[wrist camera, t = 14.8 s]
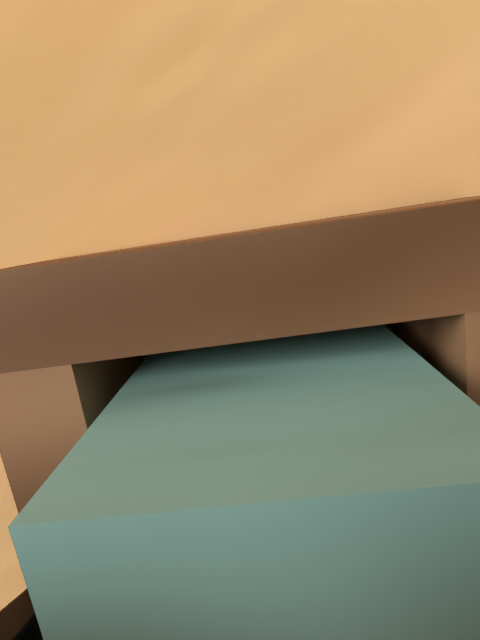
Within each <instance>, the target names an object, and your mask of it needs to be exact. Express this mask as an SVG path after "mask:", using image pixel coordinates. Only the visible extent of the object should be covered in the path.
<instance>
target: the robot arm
mask: <svg viewBox="0 0 480 640" xmlns="http://www.w3.org/2000/svg"><path fill="white" fill-rule="evenodd" d="M0 640H43V637H42V633H41V630H40V627H39V624H38V621H37V618H36V614H35V611H34V608H33V605H32V602H31V598H30V595H29V592H28V589H26V590H25V591H24V592H22V593H21V594H20V595H19V596H18V597H16V598H15V599H14V600H13V601H12V602H11V603H9V604H8V605H7V606H6V607H5V608H3V609H2V610H1V611H0Z"/></svg>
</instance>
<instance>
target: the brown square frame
mask: <svg viewBox="0 0 480 640" xmlns="http://www.w3.org/2000/svg"><path fill="white" fill-rule="evenodd" d="M398 322H399V335H400V339H401V340H402V341H403V342H404V343H406V344H407V345H408V346H409V347H410V348H411V349H413V350H414V351H415V352H416V353H417V354H418V355H420V356H421V357H422V358H423V359H424V360H426V361H427V362H428V363H429V364H430V365H431V366H433V367H434V368H435V369H436V370H437V371H439V372H440V373H441V374H442V375H443V376H444V377H446V378H447V379H448V380H449V381H450V382H451V383H453V384H454V385H455V386H456V387H457V388H459V389H460V390H461V391H462V392H463V393H464V394H466V395H467V396H468V397H469V398H470V399H472V400H473V401H474V402H475V403H476V404H477V405H479V406H480V196H475V197H467V198H460V199H454V200H447V201H440V202H434V203H427V204H420V205H414V206H407V207H400V208H394V209H387V210H380V211H374V212H367V213H360V214H354V215H347V216H340V217H334V218H327V219H320V220H314V221H307V222H300V223H294V224H287V225H280V226H274V227H267V228H260V229H253V230H247V231H240V232H233V233H227V234H220V235H213V236H207V237H200V238H193V239H187V240H180V241H173V242H167V243H160V244H153V245H147V246H140V247H133V248H127V249H120V250H113V251H107V252H100V253H93V254H87V255H80V256H73V257H67V258H60V259H53V260H47V261H42V262H37V263H31V264H26V265H21V266H15V267H10V268H5V269H0V454H1V457H2V461H3V464H4V467H5V470H6V474H7V477H8V480H9V483H10V487H11V490H12V493H13V496H14V500H15V503H16V506H17V509H18V513H20V512H21V510H22V509H23V508H24V507H25V506H26V504H27V503H28V502H29V501H30V499H31V498H32V497H33V496H34V495H35V493H36V492H37V491H38V490H39V488H40V487H41V486H42V485H43V483H44V482H45V481H46V480H47V479H48V477H49V476H50V475H51V474H52V472H53V471H54V470H55V469H56V468H57V466H58V465H59V464H60V463H61V461H62V460H63V459H64V458H65V457H66V455H67V454H68V453H69V452H70V450H71V449H72V448H73V447H74V445H75V444H76V443H77V442H78V441H79V439H80V438H81V437H82V436H83V434H84V433H85V432H86V431H87V430H88V428H89V427H90V426H91V425H92V423H93V422H94V421H95V420H96V418H97V417H98V416H99V415H100V414H101V412H102V411H103V410H104V409H105V407H106V406H107V405H108V404H109V403H110V401H111V400H112V399H113V398H114V396H115V395H116V394H117V393H118V392H119V390H120V389H121V388H122V387H123V385H124V384H125V383H126V382H127V380H128V379H129V378H130V377H131V376H132V374H133V373H134V372H135V371H136V369H137V368H138V367H139V366H140V365H141V362H140V357H139V356H141V355H149V354H157V353H165V352H172V351H180V350H188V349H196V348H204V347H211V346H219V345H227V344H235V343H242V342H250V341H258V340H266V339H273V338H281V337H289V336H297V335H305V334H312V333H320V332H328V331H336V330H343V329H351V328H359V327H367V326H374V325H382V324H390V323H398Z"/></svg>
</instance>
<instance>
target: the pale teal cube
mask: <svg viewBox="0 0 480 640" xmlns="http://www.w3.org/2000/svg"><path fill="white" fill-rule="evenodd" d="M8 528H9V531H10V534H11V538H12V541H13V544H14V547H15V550H16V554H17V557H18V560H19V563H20V566H21V570H22V573H23V576H24V579H25V582H26V586H27V589H28V592H29V595H30V598H31V602H32V605H33V608H34V611H35V614H36V618H37V621H38V624H39V627H40V630H41V633H42V637H43V640H480V406H479V405H477V404H476V403H475V402H474V401H473V400H472V399H470V398H469V397H468V396H467V395H466V394H464V393H463V392H462V391H461V390H460V389H459V388H457V387H456V386H455V385H454V384H453V383H451V382H450V381H449V380H448V379H447V378H446V377H444V376H443V375H442V374H441V373H440V372H439V371H437V370H436V369H435V368H434V367H433V366H431V365H430V364H429V363H428V362H427V361H426V360H424V359H423V358H422V357H421V356H420V355H418V354H417V353H416V352H415V351H414V350H413V349H411V348H410V347H409V346H408V345H407V344H406V343H404V342H403V341H402V340H401V339H400V338H398V337H397V336H396V335H395V334H394V333H393V332H391V331H390V330H389V329H388V328H387V327H386V326H384V325H383V324H382V325H374V326H367V327H359V328H351V329H343V330H336V331H328V332H320V333H312V334H305V335H297V336H289V337H281V338H273V339H266V340H258V341H250V342H242V343H235V344H227V345H219V346H211V347H204V348H196V349H188V350H180V351H172V352H165V353H157V354H149V355H148V356H147V357H146V358H145V360H144V361H143V362H142V363H141V365H140V366H139V367H138V368H137V369H136V371H135V372H134V373H133V374H132V376H131V377H130V378H129V379H128V380H127V382H126V383H125V384H124V385H123V387H122V388H121V389H120V390H119V392H118V393H117V394H116V395H115V396H114V398H113V399H112V400H111V401H110V403H109V404H108V405H107V406H106V407H105V409H104V410H103V411H102V412H101V414H100V415H99V416H98V417H97V418H96V420H95V421H94V422H93V423H92V425H91V426H90V427H89V428H88V430H87V431H86V432H85V433H84V434H83V436H82V437H81V438H80V439H79V441H78V442H77V443H76V444H75V445H74V447H73V448H72V449H71V450H70V452H69V453H68V454H67V455H66V457H65V458H64V459H63V460H62V461H61V463H60V464H59V465H58V466H57V468H56V469H55V470H54V471H53V472H52V474H51V475H50V476H49V477H48V479H47V480H46V481H45V482H44V483H43V485H42V486H41V487H40V488H39V490H38V491H37V492H36V493H35V495H34V496H33V497H32V498H31V499H30V501H29V502H28V503H27V504H26V506H25V507H24V508H23V509H22V510H21V512H20V513H19V514H18V515H17V517H16V518H15V519H14V520H13V521H12V523H11V524H10V525H9V526H8Z"/></svg>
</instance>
